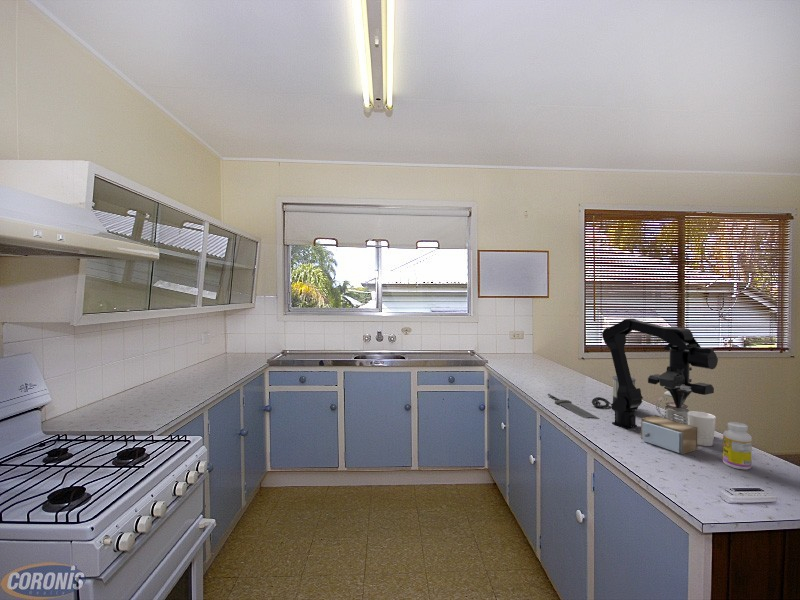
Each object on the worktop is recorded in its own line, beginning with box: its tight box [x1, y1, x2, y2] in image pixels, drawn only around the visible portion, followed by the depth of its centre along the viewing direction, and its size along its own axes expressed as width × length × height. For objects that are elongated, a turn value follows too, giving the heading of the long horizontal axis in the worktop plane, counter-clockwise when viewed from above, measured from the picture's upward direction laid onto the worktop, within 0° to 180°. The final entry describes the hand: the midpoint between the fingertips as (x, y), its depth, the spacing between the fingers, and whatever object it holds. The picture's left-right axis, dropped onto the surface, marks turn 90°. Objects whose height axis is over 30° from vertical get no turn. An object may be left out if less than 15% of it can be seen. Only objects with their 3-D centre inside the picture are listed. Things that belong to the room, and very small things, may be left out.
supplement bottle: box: [722, 421, 753, 470], centre depth 119 cm, size 7×7×13 cm
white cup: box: [687, 410, 716, 447], centre depth 137 cm, size 8×8×10 cm
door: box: [641, 422, 684, 455], centre depth 132 cm, size 13×2×7 cm, turn 27°
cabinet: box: [640, 415, 698, 455], centre depth 135 cm, size 14×8×8 cm, turn 25°
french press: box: [655, 390, 691, 425], centre depth 149 cm, size 10×12×25 cm
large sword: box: [546, 393, 600, 420], centre depth 179 cm, size 7×35×2 cm, turn 9°
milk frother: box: [591, 375, 637, 412], centre depth 175 cm, size 14×16×15 cm
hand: (678, 408), depth 136 cm, fingers closed
